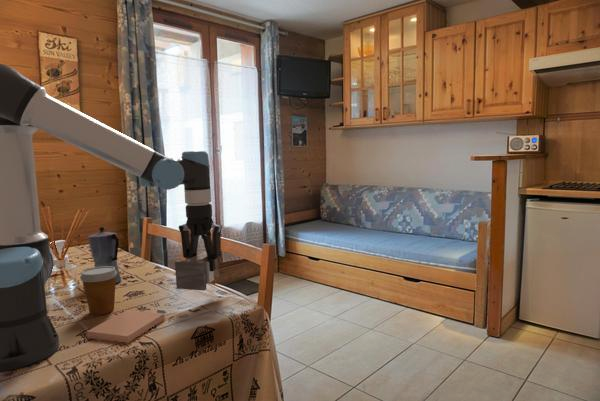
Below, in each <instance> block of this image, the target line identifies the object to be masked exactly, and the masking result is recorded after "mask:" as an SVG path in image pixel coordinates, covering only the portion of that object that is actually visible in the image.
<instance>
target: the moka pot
mask: <svg viewBox="0 0 600 401" xmlns="http://www.w3.org/2000/svg"><path fill="white" fill-rule="evenodd" d="M98 229H99V232H96V233H93V234H90V235H88V236H87V240H88V244H89V248H90V252H91V256H92V258H93V263H94V267H101V266H112V267H115V269H116V271H117V275H116V282H115V285H117V283H120V282H121V281H122V278H121V277H122V276H121V274H120V271H119V267H118V266H119V265H118V262H117V261H118V252H119V247H120V246H119V241H120V240H119V238H118V233H116V232H111V231H105V227H103V226H100V227H99V228H98ZM94 267H93V268H94Z"/></svg>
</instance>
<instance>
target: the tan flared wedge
mask: <svg viewBox="0 0 600 401" xmlns="http://www.w3.org/2000/svg"><path fill="white" fill-rule="evenodd" d="M207 260H208V257H207V253H206V250H205V251H203V252H200V253H197V255H196V256H194V257H192V258H189V259H188V258H186V259H185V260H182V259H181V260H179V259H177V260H175V261H174V268H175V283H176V289H179V290H193V291H206V290H207V285H208V283H207V272H206V261H207ZM219 264H220V262H219V258H217V259H215V267H216V269H215V270H214V271H213V272H214V280H215V279H217V278H219V277H220V265H219Z"/></svg>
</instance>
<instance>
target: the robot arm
mask: <svg viewBox="0 0 600 401" xmlns="http://www.w3.org/2000/svg"><path fill="white" fill-rule="evenodd" d="M38 130H41V131H43V132H45V133H47V134H49V135H52V136H53V137H55V138H57V139H60V140H62V141H63V142H65V143H68V144H70V145H72V146H74V147H75V148H78V149H80V150H82V151H84V152H86V153H89V154H91V155H93V156H95V157H97V158H99V159H101V160H103V161H105V162H107V163H109V164H111V165H114V166H116V167H118V168H119V169H122V170H124V171H127V173H130V174H133V175H134V176H136V177H138V180H139V184H140V186H141V187H144V188H147V187H149V188H154V187H158V188H160V189H162V190H166V191H167V190H168V191H169V190H173V189H176V188H178V187H179V186H180V185H183V187H184V190H183V191H184V203H185V204H187V205H185V217H186V221H185V223H184V224H180V225H179V226H178V230H179V232H180V240H181V247H182V257H183V258H184V259H189V258H192V257H194V256H196V255H198V247H199V240H200V239H199V238H200V237H201V240H203V244H204V248H205V251H206V253H207V257H208V260H207V261H206V272H207V284H210V283H212V282H213V281H215V279H214V272H213V271H214V270H215V269H216V267H215V259H217V258H218V259H219V258H222V243H221V242H222V241H221V240H222V239H221V231H222V228H223V225H222V224H219V225H218V224H216V223H215V222H214V221H213V205H212V204H211V203H212V191H211V190H212V188H211V175H210V174H211V173H210V171H211V170H210V168H211V167H210V159H209V154H208V152H207V151H205V150H195V151H193V150H192V151H188V150H187V151H183V152H182V153H181V157H180V158H170V157H168V156H166V155H163V154H162V153H159V152H158V151H155V149H152V148H151V147H149V146H147V145H145V144H143V143H141V142H138V140H135V139H133V138H132V137H129V136H127V135H126V134H123V133H121V132H119V131H118V130H116V129H114V128H112V127H111V126H108V125H106V124H105V123H102V122H101V121H99V120H97V119H95V118H93V117H91V116H89V115H87V114H85V113H83V112H81V111H79V110H77V109H75V108H74V107H71V106H70V105H68V104H66V103H64V102H62V101H60V100H59V99H56V98H54V97H52V96H51V95H49V94H48V93H47V90H46V88H45V87H44V86H42V85H39V84H38V83H36V82H35V81H32V80H31V79H29V78H27V77H26V76H24V75H23V74H21V73H20V72H19V71H18V70H16V69H15V68H13V67H11V66H9V65H7V64H3V63H0V372H6V371H12V370H16V369H21V368H25V367H27V366H31V365H33V364H36V363H39V362H41V361H43V360H44V359H47V358H49V357H50V356H52V355H54V354H55V352H57V351H58V350H59V348H60V337H59V335H58V334H59V333H58V332H57V331H56V328H55V326H54V324H53V323H52V321H51V319H50V317H49V314H48V309H47V297H46V290H45V289H46V287H45V285H46V283H47V281H48V279H49V278H50V277H51V276H50V275H51V273H52V269H53V265H54V262H53V257H52V254H51V253H50V248H49V243H50V241H49V235H47V234H46V233H45V232H43V231H42V228H41V218H40V210H39V209H40V207H39V199H38V186H37V174H36V165H35V154H34V143H33V135H34V134H35V133H37V131H38ZM211 229H212V230H211ZM189 231H190V232H189ZM211 231H212V233H211Z"/></svg>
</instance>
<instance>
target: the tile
mask: <svg viewBox="0 0 600 401" xmlns="http://www.w3.org/2000/svg"><path fill="white" fill-rule="evenodd" d="M165 320H166V319H165V313H162V312H153V311H151V312H149V311H143V310H134V309H133V310H132V309H131V310H130V309H127V310H124V311H123V312H120V313H119V314H117V315H115V316H113V317H112V318H109V319H107V320H106V321H104V322H101V323H100V324H97V325H96V326H94V327H92V328H90V329H89V330H86V336H87V337H86V338H87V339H93V340H101V341H108V342H109V341H110V342H115V341H118V342H117V343H122V342H125V343H124V344H129V343H131V342H133V341H134V340H136V339H137V338H139V337H141V336H142V335H143V334H145V333H146V332H148V331H149V329H150V328H151V329H153V328H154V327H156V326H158V325H159V324H160V323H162V322H164V321H165ZM158 323H159V324H158ZM155 325H156V326H155ZM152 327H153V328H152ZM151 329H150V330H151ZM147 330H148V331H147ZM144 332H145V333H144ZM142 333H143V334H142ZM141 334H142V335H141ZM138 336H139V337H138ZM136 337H137V338H136ZM135 338H136V339H135ZM133 339H134V340H133ZM130 341H131V342H130ZM126 342H127V343H126Z"/></svg>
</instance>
